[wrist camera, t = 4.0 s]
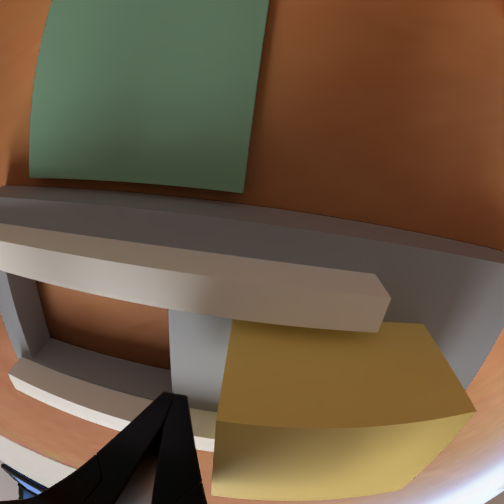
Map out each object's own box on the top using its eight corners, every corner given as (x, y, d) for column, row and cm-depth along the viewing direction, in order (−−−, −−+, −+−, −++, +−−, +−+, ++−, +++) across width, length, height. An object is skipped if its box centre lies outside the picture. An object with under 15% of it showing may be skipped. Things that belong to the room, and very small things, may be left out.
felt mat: (37, 175, 10) (29, 177, 10) (65, -15, 7) (58, -19, 6) (244, 190, 10) (242, 193, 10) (275, -37, 7) (276, -45, 6)
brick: (224, 402, 12) (211, 495, 7) (234, 307, 10) (216, 420, 6) (377, 409, 12) (400, 489, 8) (422, 323, 10) (476, 411, 6)
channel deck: (43, 361, 15) (16, 398, 11) (5, 185, 10) (-47, 206, 7) (421, 411, 15) (438, 453, 12) (504, 251, 11) (548, 284, 7)
